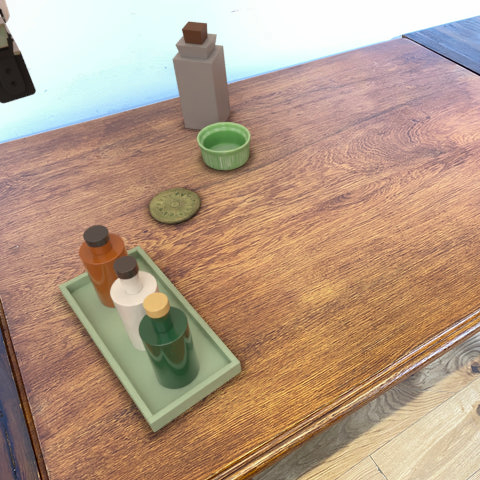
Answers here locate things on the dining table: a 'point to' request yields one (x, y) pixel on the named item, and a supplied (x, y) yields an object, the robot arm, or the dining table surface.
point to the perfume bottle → (201, 77)
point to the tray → (137, 362)
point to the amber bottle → (101, 260)
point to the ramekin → (224, 145)
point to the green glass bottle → (168, 342)
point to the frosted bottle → (131, 296)
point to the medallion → (174, 205)
